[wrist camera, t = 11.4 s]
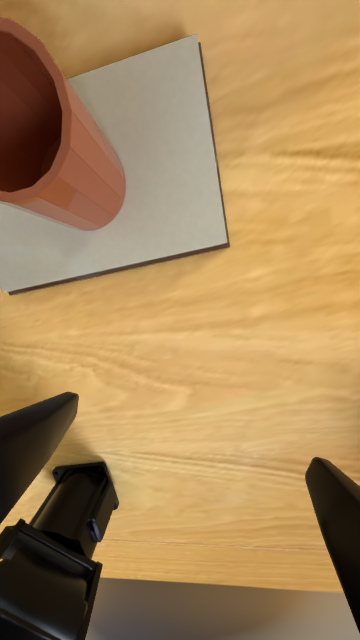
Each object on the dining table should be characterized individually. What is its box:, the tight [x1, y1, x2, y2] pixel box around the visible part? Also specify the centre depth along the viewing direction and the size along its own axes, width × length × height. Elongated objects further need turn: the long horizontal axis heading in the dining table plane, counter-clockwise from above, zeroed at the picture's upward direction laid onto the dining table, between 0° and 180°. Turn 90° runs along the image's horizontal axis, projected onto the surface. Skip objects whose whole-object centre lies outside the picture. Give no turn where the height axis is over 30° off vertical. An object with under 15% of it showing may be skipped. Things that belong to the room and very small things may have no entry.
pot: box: [0, 17, 126, 231], centre depth 12 cm, size 7×7×7 cm
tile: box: [0, 34, 230, 295], centre depth 16 cm, size 21×14×2 cm, turn 102°
